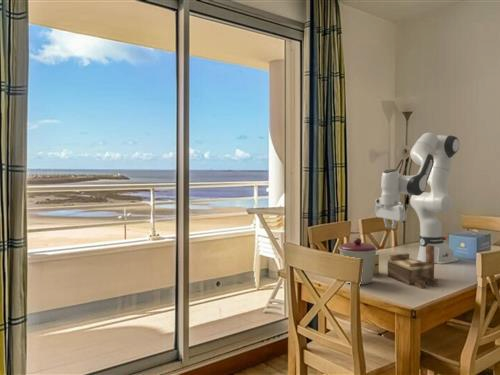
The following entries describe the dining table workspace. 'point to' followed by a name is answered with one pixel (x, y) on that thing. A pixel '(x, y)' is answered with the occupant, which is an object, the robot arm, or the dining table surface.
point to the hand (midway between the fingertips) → (390, 227)
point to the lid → (408, 262)
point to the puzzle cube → (376, 265)
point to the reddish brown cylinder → (430, 257)
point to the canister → (363, 252)
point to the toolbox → (411, 276)
